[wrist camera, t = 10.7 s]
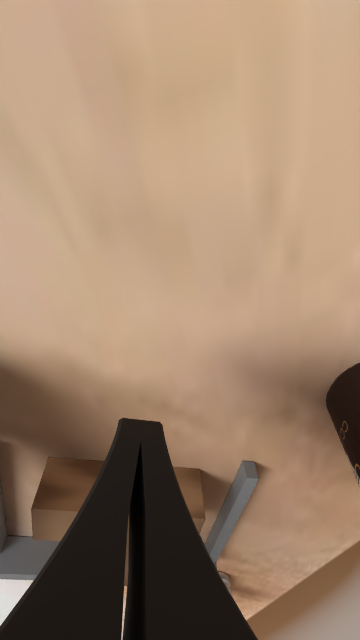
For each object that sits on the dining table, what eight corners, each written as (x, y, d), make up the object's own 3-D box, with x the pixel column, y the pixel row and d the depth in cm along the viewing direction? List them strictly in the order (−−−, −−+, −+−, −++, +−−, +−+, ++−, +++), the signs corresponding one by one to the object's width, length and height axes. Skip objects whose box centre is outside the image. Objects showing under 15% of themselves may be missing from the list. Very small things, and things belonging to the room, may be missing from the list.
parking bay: (-4, 540, 31) (-19, 578, 29) (-20, 438, 24) (-42, 475, 21) (211, 550, 34) (215, 585, 32) (254, 461, 27) (264, 497, 24)
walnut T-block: (49, 532, 31) (35, 583, 28) (48, 456, 25) (31, 508, 22) (175, 538, 33) (177, 587, 29) (199, 468, 27) (205, 518, 24)
